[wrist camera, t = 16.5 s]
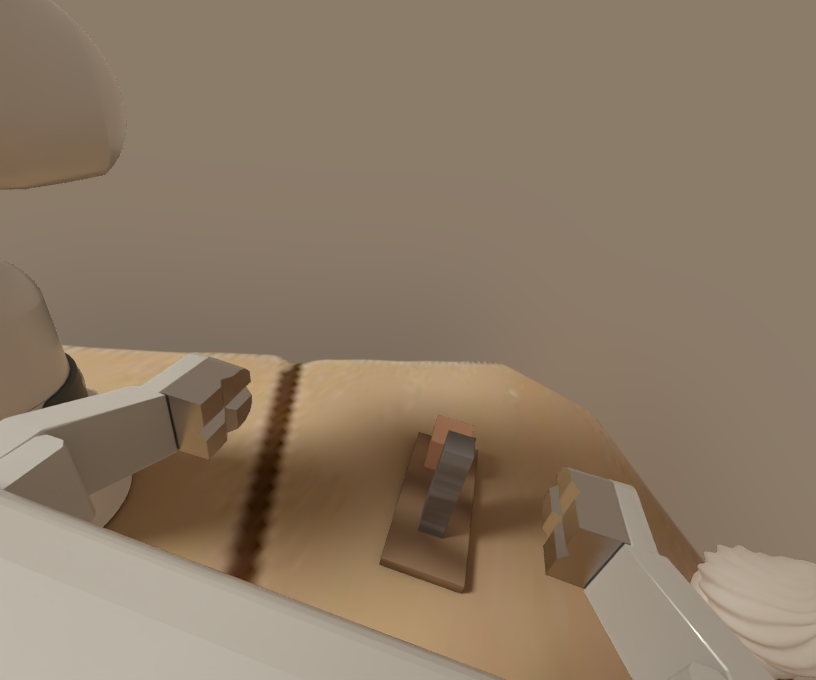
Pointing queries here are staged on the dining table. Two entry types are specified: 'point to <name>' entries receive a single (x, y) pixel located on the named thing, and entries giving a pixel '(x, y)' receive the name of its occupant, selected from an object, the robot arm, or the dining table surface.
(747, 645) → the soft serve ice cream cone
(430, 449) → the terracotta block
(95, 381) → the dining table surface
